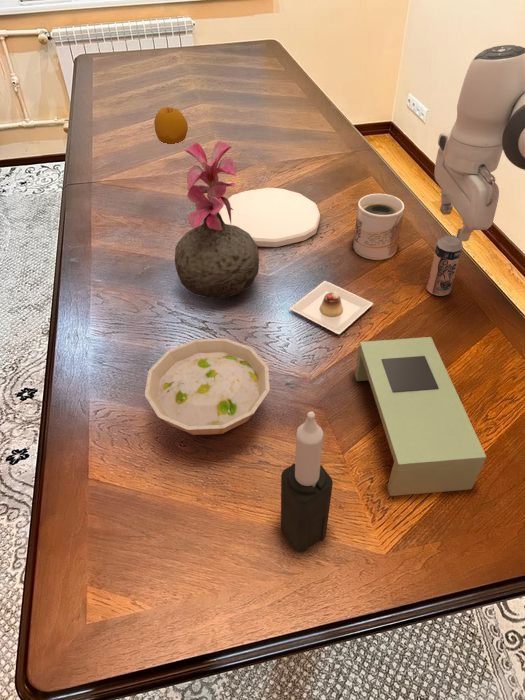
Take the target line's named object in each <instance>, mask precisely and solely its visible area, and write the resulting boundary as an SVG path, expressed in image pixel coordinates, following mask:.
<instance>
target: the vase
mask: <svg viewBox="0 0 525 700" xmlns="http://www.w3.org/2000/svg"><path fill="white" fill-rule="evenodd" d="M231 148H232V145H230V144H229V143H227V142H224V141H222V140H217V141H216V143H215V144H214V146H213V149H212V153H211V162H209V161H208V157H207V155H206V154H207V153H206V152H205V150H204V149H203V147H202V145H201V144H199V142H195V143H193V144H191V145H189V146H188V147H187V148H186V149H184V152H186V154H189V155H191V156H192V157H193V158H194V159H195V160H196V161H197V162H198V163H199V164H200V165H201V166H200V165H193V166H191V167H190V168H189V170H188V172H187V177H186V178H187V179H186V180H187V181H186V183H187V184H186V185H187V187H186V188H187V191H188V192H187V195H186V197H187V199H188V200H189V201H191V202H192V203H195V209H196V210H195V211H192V212H191V213H190V214H188V216H187V221H188V223H189V225H190V227H191V228H192V229H190V230H188V231H187V232H186V233H185V234H184V235H183V236H182V237H181V238H180V240H179V241H178V242H177V244H176V246H175V251H174V266H175V270H176V273H177V276H178V279H179V281H180V283H181V285H182V286H183V287H184V288H185V289H186V290H187V291H188V292H190V293H191V294H192V295H195V296H199V297H203V298H208V299H214V300H215V299H219V300H220V299H226V298H229V297H231V296H235V295H238V294H241V293H242V292H244V291H246V290H248V289H249V288H251V286H252V284H253V282H254V280H255V279H256V277H257V275H258V274H259V268H260V256H259V248H258V246H257V245H256V243H255V242H254V240H253V238H252V237H251V236H250V234H249V233H247V232H246V231H244V230H243V229H241V228H239V227H237V226H234V225H229V224H225V223H224V221H223V220H222V217H221V215H220V214H219V211H220V210H221V209H222V208H223V204H224V205H225V206H226V208H227V212H228V215H229V219H230V223H231V210H233V209H232V208H231V206H230V202H229V200H228V199H229V198H227V197H226V196H224V195H225V194H226V191H227V187H236V185H237V184H236V183H235V182H230V183H227V182H225V181H223V180H220V179H219V176H218V175H219V173H226V174H228V175H231V176H234V177H236V176H237V170H236V166H235V162H234V159H233V158H232V157H231V156H225V157H224V158H223V156H224V155H225V154H226V153H227V152H228V151H229V150H230V149H231ZM199 180H201V181H203V182H204V183H205V184H206V185H207V186H206V185H204V184H199V185H197V184H196V183H197V182H198V181H199ZM205 194H206V195H205ZM206 196H207V197H206Z"/></svg>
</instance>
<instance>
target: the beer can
mask: <svg viewBox="0 0 525 700" xmlns="http://www.w3.org/2000/svg"><path fill="white" fill-rule="evenodd" d="M435 246H436V247H435V250H434V254H433V259H432V261H431V262H432V263H431V266H430V267H431V268H430V270H429V275H428V279H427V283H426V290H427V291H428V292H429V293H430V294H431V295H434V296H439V297H443V296H447V295H449V294H450V293H451V290H452V286H453V282H454V279H455V276H456V271H457V268H458V264H459V261H460V259H461V254H462V250H463V247H464V245H463V241H459V239H458V237H457V235H455V234H454V235H453V234H445V235H442V236H441V237H440V238H439V239H438V240H437V242H436V245H435Z"/></svg>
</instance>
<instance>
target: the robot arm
mask: <svg viewBox="0 0 525 700" xmlns="http://www.w3.org/2000/svg"><path fill="white" fill-rule="evenodd" d="M437 145H438V149H437V154H436V158H435V164H434V170H433V173H434V174H433V175H434V180H435V182H436V183H437V184H438V186H439V188H440V203H441V204H440V207H439V211H440V213H441V214H442V215H443V216H445V215H451V214H452V210H453V208H454V210H455V211H456V212H457V214H458V215H459V217H460V218H461V220H462V227H461V228H458V230H457V233H456V237H458V239H459V241H462V242H467V241H469V240H470V238H471V234H472V233H473V232H474V231H485V230H488V229H489V228H491V227H492V226H493V223H494V220H495V216H496V212H497V208H498V203H499V197H500V190H499V189H500V188H499V186H498V184H497V183H496V177H495V175H493V174H492V172H495V171H496V170H497V169H498V167H499V164H500V160H501V157H502V154H503V153H504V156H505V157H506V158H507V160H508V161H509V162H510V163H511V164H512V165H513V166H514V167H516V168H519V169H521V170H523V171H525V47H524V46H522V45H521V46H520V45H515V44H503V45H496V46H492V47H488V48H486V49H484V50H482V51H481V52H479V53H478V54H477V55H476V56H475V57H474V58H473V59H472V60H471V62H470V64H469V66H468V68H467V70H466V73H465V76H464V80H463V81H462V86H461V89H460V93H459V97H458V101H457V105H456V120H455V122H454V124H453V126H452V127H451V131H450V132H441V133H440V134H439V135H438V140H437Z"/></svg>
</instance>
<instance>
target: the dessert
mask: <svg viewBox="0 0 525 700" xmlns="http://www.w3.org/2000/svg"><path fill="white" fill-rule="evenodd" d="M372 306H374V302H372V301H370V300H367V299H365V298H363V297H361V296H359V295H357V294H354V293H352V292H351V291H349V290H346V289H344V288H342V287H340V286H338V285H336V284H333V283H332V282H329V281H327V280H323V281H322V282H321V283H320V284H318V285H317V286H316V287H314V288H313V289H312V290H311V291H309V292H308V293H307V294H305V295H304V296H303V297H301V298H300V299H299V300H298V301H296V302H295V303H294V304H293V305H291V306H290V307H289V310H290V311H292V312H294V313H296V314H298V315H300V316H302V317H304V318H306V319H308V320H309V321H312V322H313V323H315V324H318V325H319V326H321V327H323V328H325V329H327V330H329V331H331V332H332V333H335V334H337V335H341V334H342V333H343V332H344V331H345V330H346V329H348V327H349V326H351V325H352V324H353V323H354V322H355V321H356V320H358V319H359V318H360V317H361V316H362V315H363V314H364V313H365V312H366V311H368V309H370V308H371V307H372Z"/></svg>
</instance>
